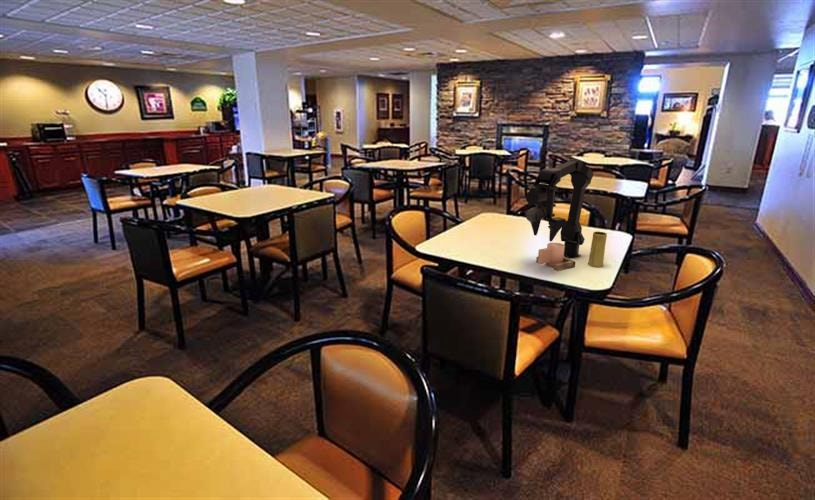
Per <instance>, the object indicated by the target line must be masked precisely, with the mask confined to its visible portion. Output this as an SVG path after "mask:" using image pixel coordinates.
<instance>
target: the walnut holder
mask: <svg viewBox="0 0 815 500" xmlns="http://www.w3.org/2000/svg"><path fill="white" fill-rule="evenodd" d="M535 262H536V263H537V262H538V256H536V259H535ZM575 267H576V261H575V260H573V259H571V258H569V257H566V256H564V257H563V263H558V264H554V268H553V271H554V272H555V271H556V272H559V271H563V270H567V269H572V268H573V269H574V268H575Z"/></svg>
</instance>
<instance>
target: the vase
mask: <svg viewBox="0 0 815 500" xmlns="http://www.w3.org/2000/svg"><path fill="white" fill-rule="evenodd" d="M607 235H608V233H606V232H605V231H594V232H593V234H592V240H591V244H590V245H591V246H590V252H589V259H588V262H587V265H588V266H590V267H593V268H602V267H604V260H605V253H606V252H605V251H606V243H607V237H608V236H607Z"/></svg>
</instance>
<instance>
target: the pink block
mask: <svg viewBox="0 0 815 500" xmlns="http://www.w3.org/2000/svg"><path fill="white" fill-rule="evenodd" d="M564 249H565V245H564V244H563V243H560V242H548V243H547V244H546V247H545V248H539V249H538V254H537V257H538V262H536V263H537V264H539V265H545V266H546V267H549V268H553V269H554V264H558V263H563V257H565V256H564Z"/></svg>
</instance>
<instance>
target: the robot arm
mask: <svg viewBox="0 0 815 500" xmlns="http://www.w3.org/2000/svg"><path fill="white" fill-rule="evenodd" d="M568 175H569V176H570V182H571V185H572V188H573V190H572V194H571V200H570V204H569V205H570V206H569V211H568V216H567V219H566V218H563V217H560V216H556V214H555V213H554V208H555V207H557V204H556V203H555V197H556V196H555V195H556V194H555V193H556V190H558V189H559V187H558V186H557V185H558V184H560V182H561V180H562V178H564V177H566V176H568ZM593 177H594V172H593V170H592V169H591V167H589V166H587V165H586V164H585V163H584V162H583V161H582V160H580V159H568V161H566V162H564V163H561V164H560V165H558V166H556V167H553V168H552V167H550V168H543V169H541V170H540V171H539V173H538V174H537V177H536V179H535V180H534V183H533V185H532V187H531V188H530V190H528V192H527V193H526V196H525V201H526V202H527V203H528V205H530V206H535V207H534V208H531V209H529V210H525V212H524V218H526V220H527V221H528V222H529V223H530V225H531V229H532V232H533V235H534V236H537V235H538V233H539V228H540V225H541V222H542V221H545V222H547V224H548V226H547V227H548V229H549V236H548V238H549V242H553V241H554V239H555V237H556V236H557V235H558V232H559V231H560V233H559V235H560V241H561V242H564V244H563V245H565V249H564V257H566V258H568V259H572V258H573V259H574V258H577V257H578V258H579V257H581V256H582V255H581V254H579V251H580V246H583V244H585V240H586V239H585V237H584V235H583V233H582V230H583V228H582V225H581V222H580V219H581V216H582V215H581V214H582V208H583V203H584V198H585V193H586V189H587V187H589V185H590V184H591V182H592V179H593Z"/></svg>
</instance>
